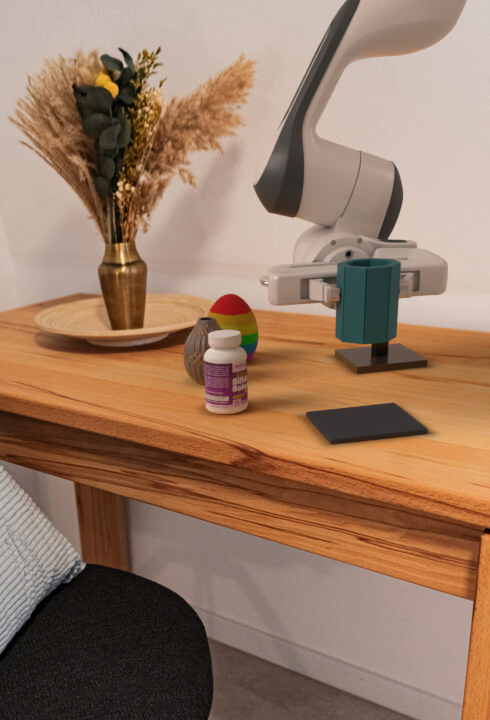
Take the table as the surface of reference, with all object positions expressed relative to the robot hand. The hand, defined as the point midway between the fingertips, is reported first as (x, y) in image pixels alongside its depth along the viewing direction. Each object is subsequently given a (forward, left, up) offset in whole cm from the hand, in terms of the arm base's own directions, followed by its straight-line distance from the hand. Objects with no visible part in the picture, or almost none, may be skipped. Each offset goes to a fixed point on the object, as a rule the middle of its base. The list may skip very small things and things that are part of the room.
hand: (370, 292), depth 90 cm
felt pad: (0, -1, -15) cm, 15 cm away
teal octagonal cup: (0, -1, -5) cm, 5 cm away
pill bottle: (+14, -12, -15) cm, 24 cm away
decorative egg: (+9, -34, -15) cm, 38 cm away
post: (-11, -26, -15) cm, 32 cm away
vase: (+14, -25, -15) cm, 32 cm away
